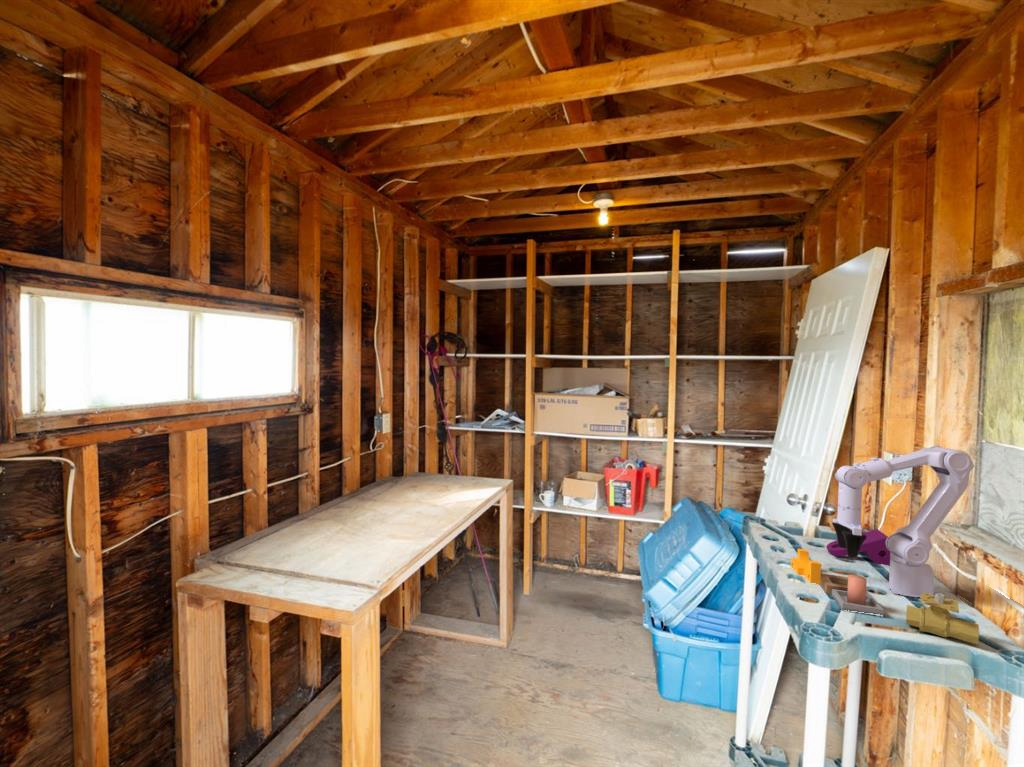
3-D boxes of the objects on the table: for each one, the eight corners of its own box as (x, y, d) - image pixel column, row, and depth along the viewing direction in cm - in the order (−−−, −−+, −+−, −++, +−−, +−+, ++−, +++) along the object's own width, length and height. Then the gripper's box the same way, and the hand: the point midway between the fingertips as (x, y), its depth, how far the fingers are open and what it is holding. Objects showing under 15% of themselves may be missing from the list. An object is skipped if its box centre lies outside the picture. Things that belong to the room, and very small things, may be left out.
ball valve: (905, 631, 113) (907, 590, 113) (907, 616, 120) (909, 578, 120) (978, 653, 104) (980, 609, 104) (976, 635, 112) (978, 594, 111)
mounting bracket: (842, 576, 158) (901, 561, 153) (831, 553, 160) (888, 537, 154) (833, 566, 167) (889, 551, 162) (822, 543, 169) (877, 528, 163)
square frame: (852, 586, 137) (853, 578, 137) (864, 599, 128) (864, 590, 128) (817, 580, 140) (817, 572, 140) (826, 593, 131) (826, 584, 131)
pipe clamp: (790, 567, 150) (791, 547, 150) (805, 569, 149) (806, 549, 149) (803, 583, 138) (804, 561, 138) (820, 585, 137) (821, 563, 137)
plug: (862, 601, 125) (863, 576, 125) (867, 608, 122) (869, 582, 122) (845, 598, 127) (846, 573, 127) (849, 605, 123) (850, 579, 123)
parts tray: (870, 602, 127) (870, 594, 127) (883, 617, 119) (884, 610, 119) (831, 595, 130) (832, 588, 130) (842, 610, 122) (842, 603, 122)
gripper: (826, 499, 146) (824, 542, 146) (841, 511, 132) (839, 558, 132) (853, 502, 143) (851, 545, 143) (871, 514, 130) (869, 562, 130)
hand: (847, 551), depth 138 cm, fingers open, 7 cm apart
